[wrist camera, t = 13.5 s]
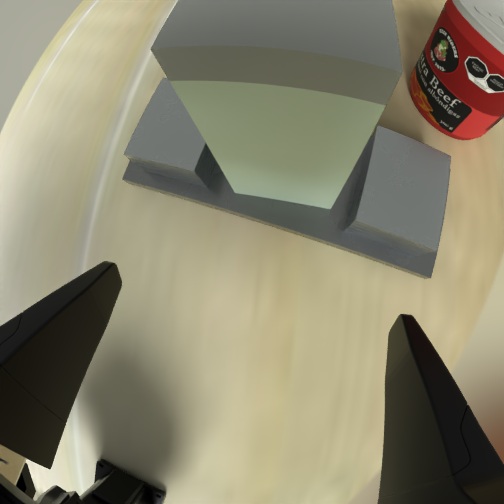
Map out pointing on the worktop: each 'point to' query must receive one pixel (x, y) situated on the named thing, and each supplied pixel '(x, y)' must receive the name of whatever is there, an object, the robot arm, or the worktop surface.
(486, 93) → the canned food
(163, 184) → the rail
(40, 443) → the robot arm
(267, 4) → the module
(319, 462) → the worktop surface
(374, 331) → the worktop surface
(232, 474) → the worktop surface
